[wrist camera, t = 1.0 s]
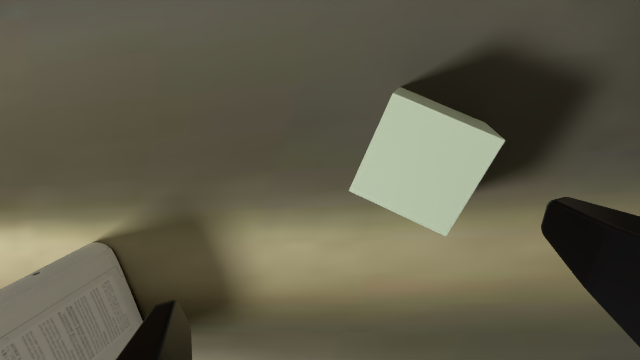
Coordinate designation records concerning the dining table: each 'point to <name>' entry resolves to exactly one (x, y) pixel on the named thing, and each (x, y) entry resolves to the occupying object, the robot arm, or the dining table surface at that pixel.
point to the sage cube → (425, 160)
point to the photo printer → (69, 310)
